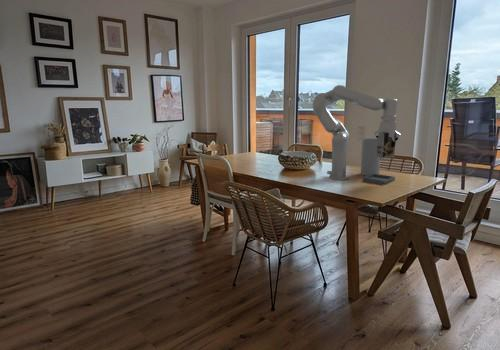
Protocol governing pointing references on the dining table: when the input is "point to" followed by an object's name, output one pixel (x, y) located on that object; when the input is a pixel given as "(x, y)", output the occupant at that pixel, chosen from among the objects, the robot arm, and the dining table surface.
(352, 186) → the dining table surface
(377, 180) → the tray
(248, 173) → the dining table surface
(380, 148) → the coffee box
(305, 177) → the dining table surface
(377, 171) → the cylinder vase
